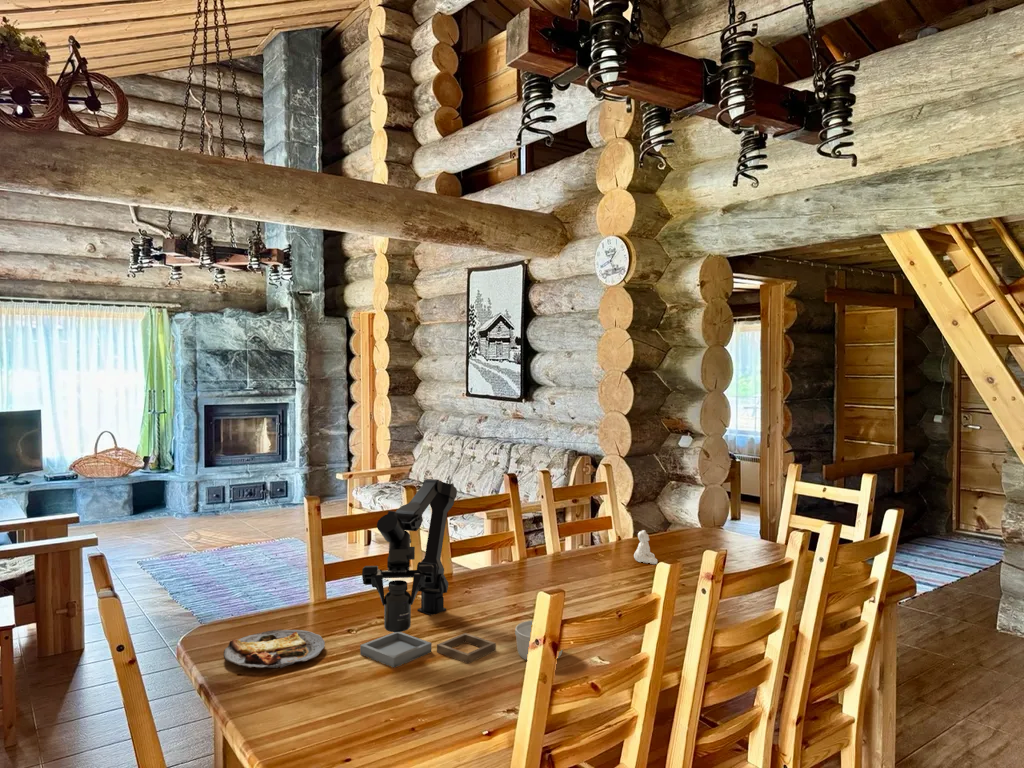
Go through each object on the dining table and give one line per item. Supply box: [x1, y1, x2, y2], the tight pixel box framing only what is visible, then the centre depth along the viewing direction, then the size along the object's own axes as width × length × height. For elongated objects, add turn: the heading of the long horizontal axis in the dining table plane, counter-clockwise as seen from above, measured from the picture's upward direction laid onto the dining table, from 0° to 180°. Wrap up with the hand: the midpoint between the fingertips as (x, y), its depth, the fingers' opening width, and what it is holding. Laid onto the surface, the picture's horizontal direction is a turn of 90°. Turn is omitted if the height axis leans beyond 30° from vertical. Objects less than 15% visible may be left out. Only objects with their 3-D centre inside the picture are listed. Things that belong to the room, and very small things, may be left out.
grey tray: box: [359, 632, 433, 669], centre depth 192 cm, size 13×13×2 cm
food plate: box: [223, 628, 326, 669], centre depth 191 cm, size 25×23×4 cm
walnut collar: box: [436, 632, 497, 664], centre depth 194 cm, size 11×11×2 cm
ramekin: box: [514, 620, 563, 661], centre depth 193 cm, size 13×13×7 cm
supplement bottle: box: [383, 579, 412, 633], centre depth 192 cm, size 7×7×12 cm
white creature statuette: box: [633, 529, 658, 565], centre depth 283 cm, size 10×9×12 cm
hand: (397, 604), depth 191 cm, fingers closed on supplement bottle, 7 cm apart
